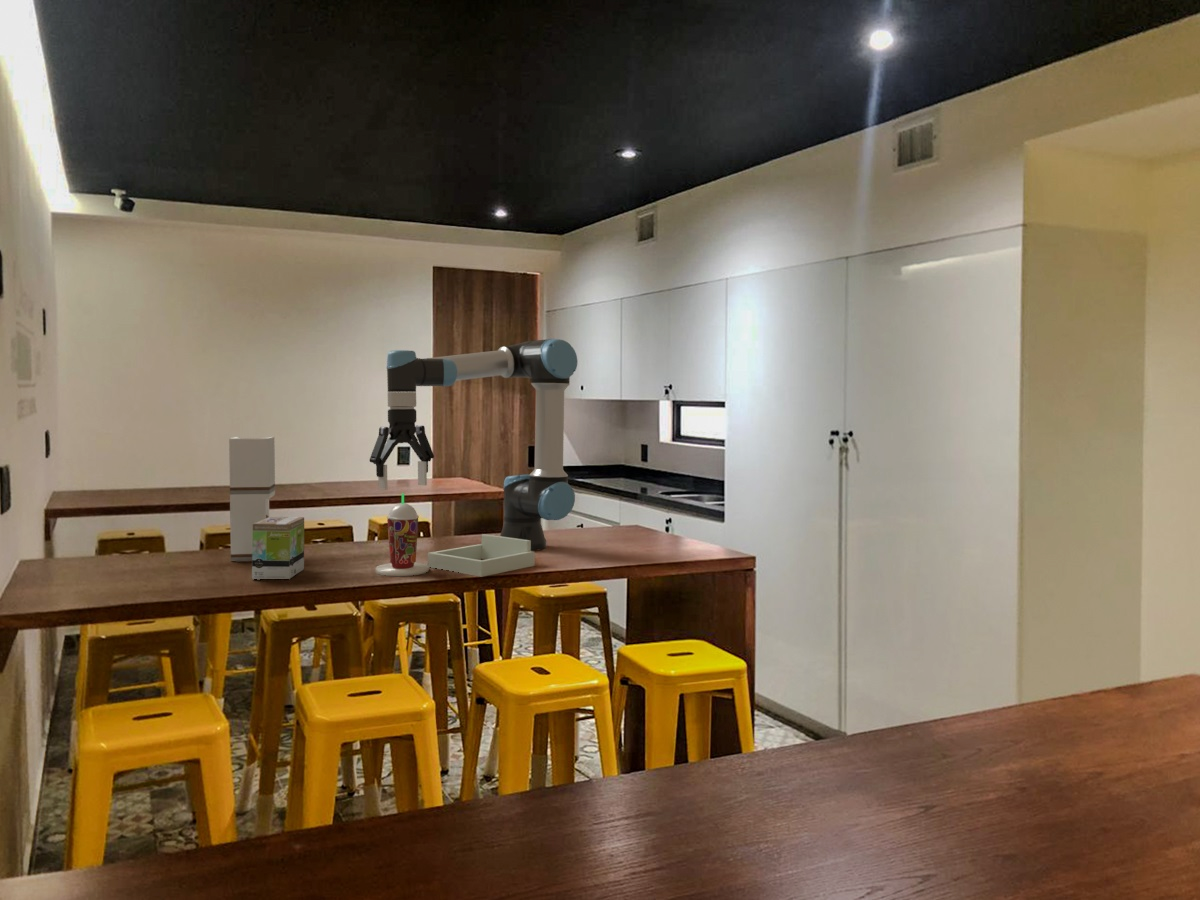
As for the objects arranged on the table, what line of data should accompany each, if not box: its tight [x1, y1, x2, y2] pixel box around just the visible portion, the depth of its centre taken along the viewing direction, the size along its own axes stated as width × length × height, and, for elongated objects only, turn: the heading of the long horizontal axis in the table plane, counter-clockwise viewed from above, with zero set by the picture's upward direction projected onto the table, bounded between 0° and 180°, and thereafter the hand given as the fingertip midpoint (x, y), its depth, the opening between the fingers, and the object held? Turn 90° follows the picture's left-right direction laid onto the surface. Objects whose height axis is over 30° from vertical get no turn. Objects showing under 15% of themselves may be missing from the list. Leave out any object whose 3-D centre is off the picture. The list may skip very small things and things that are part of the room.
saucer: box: [375, 562, 430, 577], centre depth 251 cm, size 14×14×1 cm
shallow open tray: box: [427, 533, 536, 578], centre depth 259 cm, size 21×21×7 cm
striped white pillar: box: [228, 436, 276, 562], centre depth 269 cm, size 11×11×35 cm
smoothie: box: [386, 492, 419, 569], centre depth 250 cm, size 8×8×20 cm
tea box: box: [251, 516, 305, 581], centre depth 244 cm, size 15×10×15 cm
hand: (403, 487), depth 250 cm, fingers open, 13 cm apart
